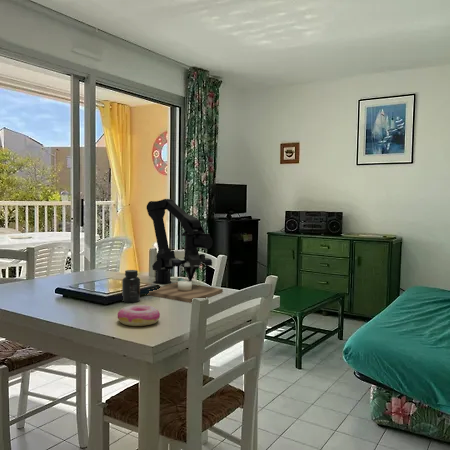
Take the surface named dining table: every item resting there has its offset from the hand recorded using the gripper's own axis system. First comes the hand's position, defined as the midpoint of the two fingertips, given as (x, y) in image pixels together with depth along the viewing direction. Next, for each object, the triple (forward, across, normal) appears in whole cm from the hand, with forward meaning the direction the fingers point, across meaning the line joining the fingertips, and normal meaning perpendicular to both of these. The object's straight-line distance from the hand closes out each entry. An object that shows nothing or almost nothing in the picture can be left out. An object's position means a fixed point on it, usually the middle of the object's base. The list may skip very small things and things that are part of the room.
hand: (190, 281), depth 203 cm
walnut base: (+4, -5, -8) cm, 10 cm away
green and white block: (+2, -5, -5) cm, 7 cm away
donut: (+4, -32, -46) cm, 56 cm away
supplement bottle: (+4, -29, -16) cm, 34 cm away
